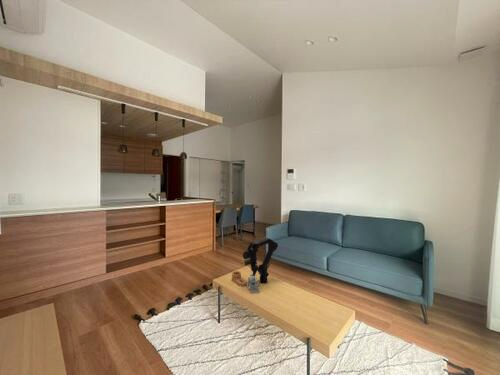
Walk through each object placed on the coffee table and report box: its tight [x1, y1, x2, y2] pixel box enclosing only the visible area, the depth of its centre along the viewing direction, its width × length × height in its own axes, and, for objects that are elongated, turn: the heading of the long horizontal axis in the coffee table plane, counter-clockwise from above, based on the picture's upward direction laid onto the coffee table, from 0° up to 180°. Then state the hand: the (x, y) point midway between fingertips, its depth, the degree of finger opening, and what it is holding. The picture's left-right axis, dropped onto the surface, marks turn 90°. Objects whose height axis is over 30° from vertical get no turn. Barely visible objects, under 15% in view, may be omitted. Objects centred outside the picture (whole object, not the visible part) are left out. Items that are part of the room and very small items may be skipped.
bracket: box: [231, 270, 248, 287], centre depth 195 cm, size 18×8×7 cm, turn 37°
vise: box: [247, 276, 259, 289], centre depth 190 cm, size 8×10×5 cm
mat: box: [249, 287, 261, 295], centre depth 179 cm, size 8×8×1 cm
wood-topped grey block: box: [249, 273, 258, 285], centre depth 189 cm, size 6×3×9 cm, turn 97°
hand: (253, 273), depth 189 cm, fingers open, 9 cm apart
